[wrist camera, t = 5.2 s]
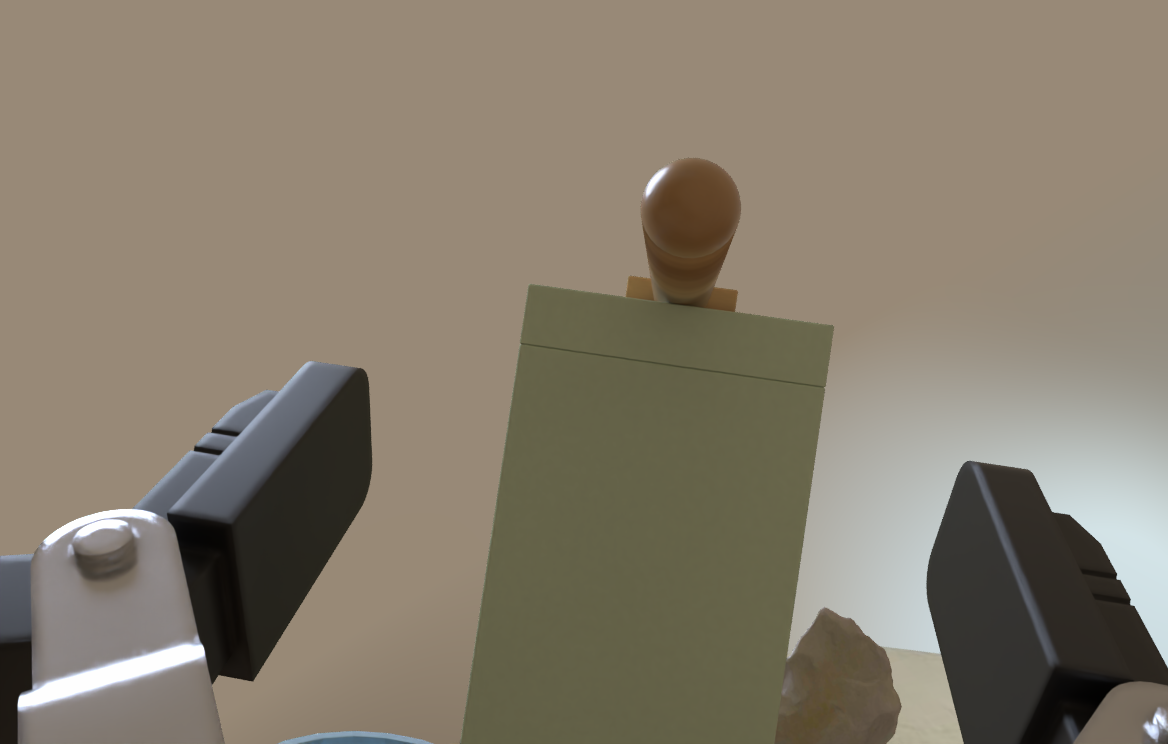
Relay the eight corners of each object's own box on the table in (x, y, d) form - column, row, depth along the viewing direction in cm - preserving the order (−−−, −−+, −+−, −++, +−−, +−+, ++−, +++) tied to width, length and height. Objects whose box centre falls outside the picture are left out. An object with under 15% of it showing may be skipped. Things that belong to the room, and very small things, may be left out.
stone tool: (874, 795, 73) (900, 609, 73) (896, 816, 69) (923, 621, 69) (744, 783, 71) (771, 594, 71) (759, 805, 67) (788, 606, 68)
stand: (382, 1258, 29) (528, 283, 30) (465, 1010, 41) (568, 317, 42) (690, 1335, 28) (834, 325, 29) (683, 1058, 40) (786, 348, 41)
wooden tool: (790, 263, 19) (805, 158, 19) (580, 236, 19) (595, 133, 19) (723, 339, 41) (730, 292, 41) (629, 326, 42) (635, 279, 42)
